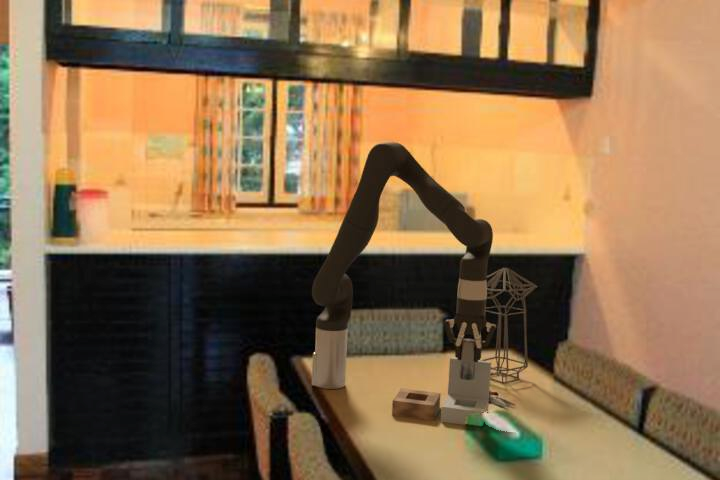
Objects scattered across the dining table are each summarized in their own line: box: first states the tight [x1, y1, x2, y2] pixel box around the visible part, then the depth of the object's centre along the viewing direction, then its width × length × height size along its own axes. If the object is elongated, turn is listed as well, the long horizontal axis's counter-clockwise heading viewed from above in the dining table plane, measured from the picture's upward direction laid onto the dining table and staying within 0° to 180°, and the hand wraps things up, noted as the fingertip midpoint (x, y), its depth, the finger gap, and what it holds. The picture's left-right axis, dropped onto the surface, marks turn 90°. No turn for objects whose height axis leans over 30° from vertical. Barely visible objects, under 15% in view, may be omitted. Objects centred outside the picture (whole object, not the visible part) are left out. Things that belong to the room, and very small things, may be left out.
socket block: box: [391, 387, 441, 421], centre depth 207 cm, size 11×11×4 cm
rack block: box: [440, 356, 492, 426], centre depth 203 cm, size 11×12×14 cm
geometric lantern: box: [480, 267, 538, 384], centre depth 239 cm, size 16×16×35 cm
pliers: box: [489, 389, 517, 408], centre depth 220 cm, size 12×20×3 cm, turn 39°
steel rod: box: [459, 338, 477, 380], centre depth 202 cm, size 4×4×10 cm
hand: (468, 360), depth 202 cm, fingers closed on steel rod, 4 cm apart
